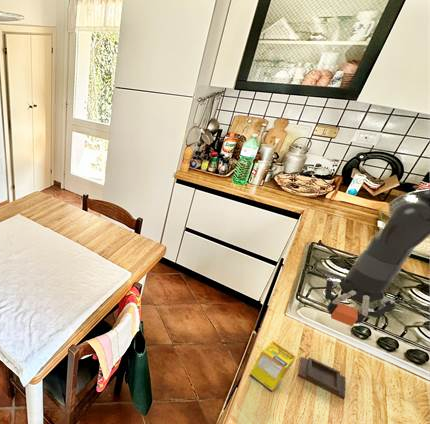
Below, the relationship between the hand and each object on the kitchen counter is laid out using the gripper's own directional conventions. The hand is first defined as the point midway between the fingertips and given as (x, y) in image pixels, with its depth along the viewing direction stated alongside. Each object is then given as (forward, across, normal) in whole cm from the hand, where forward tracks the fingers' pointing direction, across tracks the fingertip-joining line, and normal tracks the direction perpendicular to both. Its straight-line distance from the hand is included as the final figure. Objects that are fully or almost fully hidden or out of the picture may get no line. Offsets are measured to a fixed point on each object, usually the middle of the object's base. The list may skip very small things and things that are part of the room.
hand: (342, 316), depth 85 cm
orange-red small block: (0, 0, 0) cm, 0 cm away
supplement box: (+15, +11, +20) cm, 27 cm away
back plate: (+15, -1, +10) cm, 18 cm away
